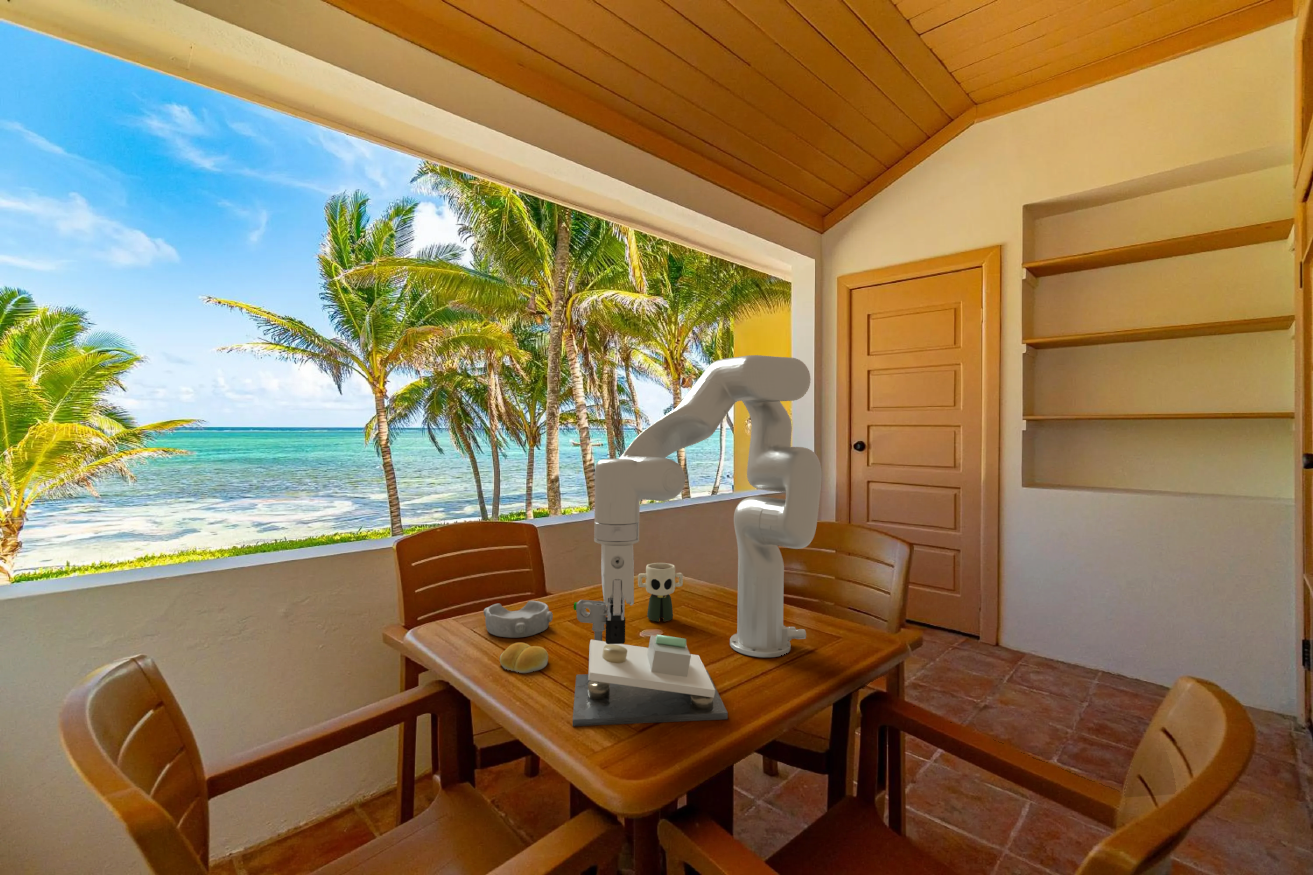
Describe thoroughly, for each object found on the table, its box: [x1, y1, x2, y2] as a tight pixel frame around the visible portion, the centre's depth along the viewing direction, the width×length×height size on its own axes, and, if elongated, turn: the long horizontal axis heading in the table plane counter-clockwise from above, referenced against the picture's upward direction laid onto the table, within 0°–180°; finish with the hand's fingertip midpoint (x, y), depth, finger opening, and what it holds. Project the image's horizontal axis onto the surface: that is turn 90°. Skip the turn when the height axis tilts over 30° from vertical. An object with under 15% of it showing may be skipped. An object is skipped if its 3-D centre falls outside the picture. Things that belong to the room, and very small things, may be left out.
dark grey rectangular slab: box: [572, 669, 729, 727], centre depth 93 cm, size 24×16×3 cm, turn 96°
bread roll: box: [499, 642, 549, 674], centre depth 107 cm, size 8×9×4 cm
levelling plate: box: [588, 634, 715, 697], centre depth 93 cm, size 20×14×6 cm
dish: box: [483, 600, 554, 639], centre depth 126 cm, size 14×14×5 cm
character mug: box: [637, 562, 684, 622], centre depth 134 cm, size 11×7×13 cm, turn 96°
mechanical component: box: [573, 599, 608, 641], centre depth 113 cm, size 3×10×10 cm, turn 78°
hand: (615, 641), depth 93 cm, fingers closed
